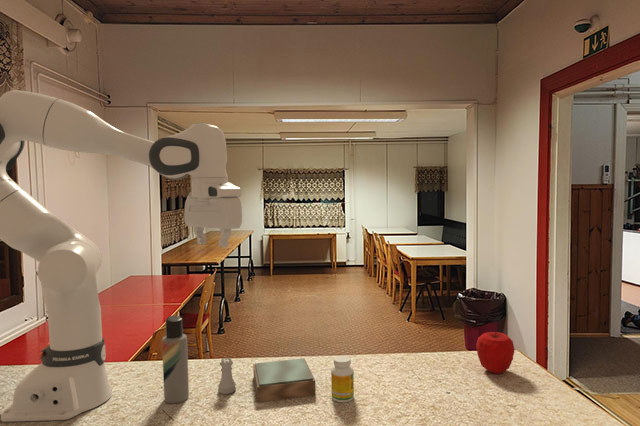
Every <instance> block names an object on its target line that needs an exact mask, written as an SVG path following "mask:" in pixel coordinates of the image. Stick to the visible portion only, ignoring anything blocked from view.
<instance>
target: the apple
mask: <svg viewBox="0 0 640 426" xmlns="http://www.w3.org/2000/svg"><path fill="white" fill-rule="evenodd" d="M475 346H476V347H475V348H476V353H477V356H478V360H479V362H480V365H481V366H482V368H484V369H485V370H487V371H488V372H489V373H491V374H495V375H500V374H504V372H506V371H507V370H508V369H510V367H511V365H512V363H513V362H512V361H513V360H514V355H515V346H514V341H513V340H512V339H511V338H510V336H508V335H507V334H505V333H502V332H498V331H489V332H484V333H482V334H481V335H480V336H478V338H477V341H476V343H475Z"/></svg>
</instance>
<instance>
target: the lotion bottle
mask: <svg viewBox="0 0 640 426" xmlns="http://www.w3.org/2000/svg"><path fill="white" fill-rule="evenodd" d="M161 344H162V345H161V348H162V375H163V376H162V377H163V396H164V397H163V398H164V401H165V402H166V403H167V404H172V405H173V404H179V403H182V402H185V401H186V400H187V399H188V398H189V394H190V390H189V389H190V386H189V384H190V383H189V382H190V381H189V360H188V359H189V357H188V356H189V355H188V353H189V352H188V336H187V335H186V333H184V328H183V317H182V316H180V315H170V316H168V317H167V318H165V336H163V337H162V339H161Z"/></svg>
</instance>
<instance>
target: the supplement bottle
mask: <svg viewBox="0 0 640 426" xmlns="http://www.w3.org/2000/svg"><path fill="white" fill-rule="evenodd" d="M351 364H352V362H351V358H350V356H347V355H338V356H335V357H334V358H333V366H332V367H331V369H330V371H331V372H330V375H331V376H330V377H331V383H330V384H331V386H330V388H331V392H330V393H331V399H333V401H335V402H336V403H337V402H338V403H343V404H344V403H348V402H352V401H353V399H355V391H354V390H355V389H354V388H355V387H354V386H355V385H354V383H355V381H354V380H355V379H354V378H355V377H354V376H355V375H354V374H355V373H354V368H353V367H352V365H351Z"/></svg>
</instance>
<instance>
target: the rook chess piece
mask: <svg viewBox="0 0 640 426" xmlns="http://www.w3.org/2000/svg"><path fill="white" fill-rule="evenodd" d="M233 363H234V362H233V360H232V358H231V357H228V358H227V357H225V358H223V357H222V358H221V361H220V362H219V366H221V369H220V371H221V375H220V376H221V379H220V381H219V384H218V389H217V391H218V392H219V393H220V394H222V395H230V394H233V393H235V391H236V389H237V386H236V381H235V380H234V378H233V372H232V371H233Z"/></svg>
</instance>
